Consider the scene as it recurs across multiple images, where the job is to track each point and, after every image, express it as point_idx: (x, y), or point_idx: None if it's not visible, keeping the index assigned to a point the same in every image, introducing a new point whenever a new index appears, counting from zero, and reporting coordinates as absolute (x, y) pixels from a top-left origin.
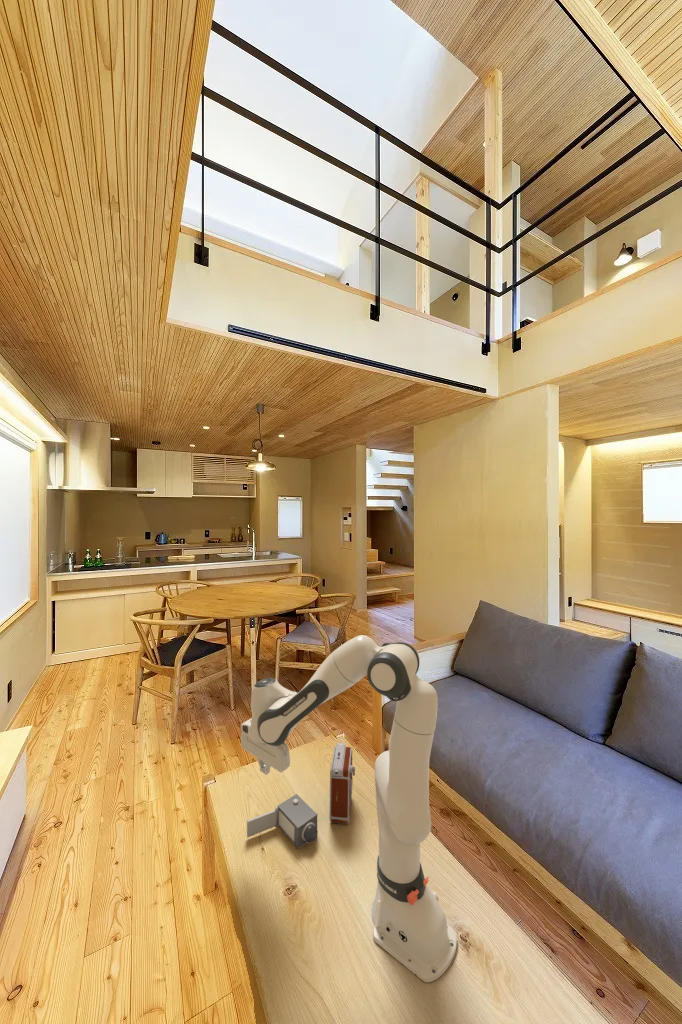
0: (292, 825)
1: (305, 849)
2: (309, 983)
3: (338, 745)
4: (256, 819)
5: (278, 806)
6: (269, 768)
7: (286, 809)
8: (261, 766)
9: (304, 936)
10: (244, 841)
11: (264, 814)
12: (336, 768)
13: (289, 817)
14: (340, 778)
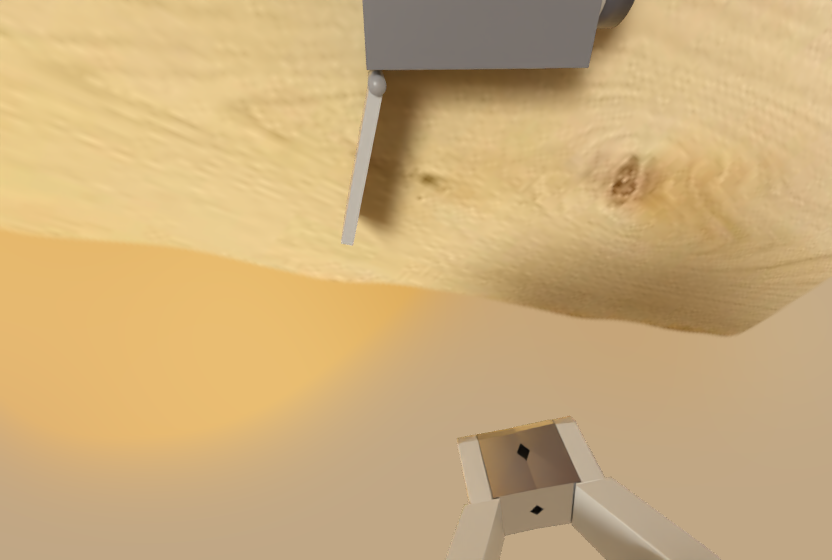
0: (529, 68)
1: None
2: (794, 261)
3: None
4: (360, 202)
5: (376, 69)
6: (594, 461)
7: (431, 38)
8: (501, 531)
9: (738, 220)
10: None
11: (361, 159)
12: None
13: (495, 63)
14: None
